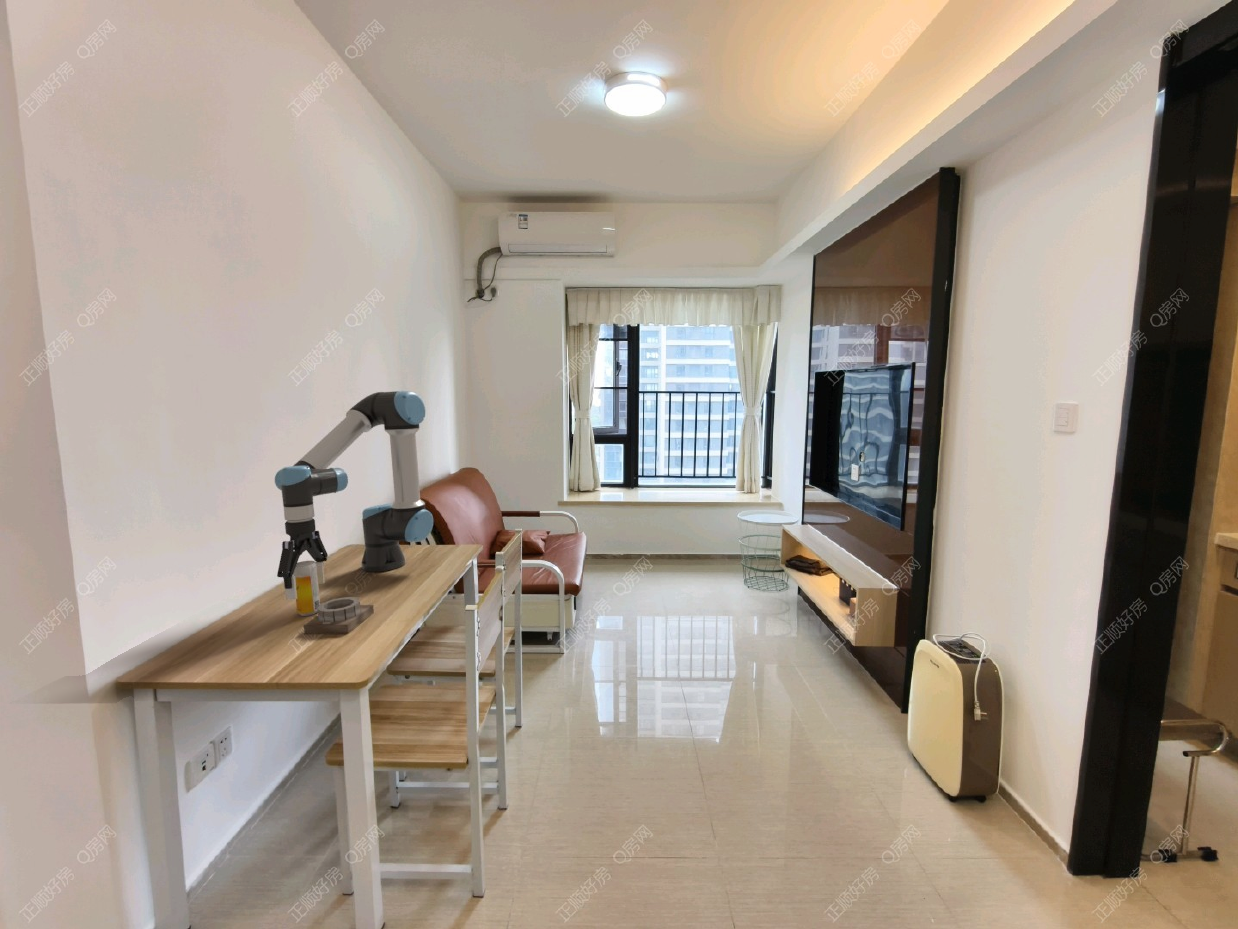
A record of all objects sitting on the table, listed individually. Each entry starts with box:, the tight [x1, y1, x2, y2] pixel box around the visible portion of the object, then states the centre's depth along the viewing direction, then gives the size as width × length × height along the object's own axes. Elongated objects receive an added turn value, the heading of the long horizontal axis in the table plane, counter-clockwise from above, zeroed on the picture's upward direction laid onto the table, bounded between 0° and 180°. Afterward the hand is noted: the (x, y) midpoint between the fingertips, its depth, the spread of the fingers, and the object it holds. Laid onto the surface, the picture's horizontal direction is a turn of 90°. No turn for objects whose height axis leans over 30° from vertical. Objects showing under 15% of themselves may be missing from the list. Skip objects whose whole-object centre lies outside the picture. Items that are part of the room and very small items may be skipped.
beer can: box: [293, 560, 321, 617], centre depth 161 cm, size 6×6×15 cm
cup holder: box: [303, 596, 374, 635], centre depth 153 cm, size 14×12×6 cm
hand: (306, 590), depth 161 cm, fingers open, 13 cm apart
